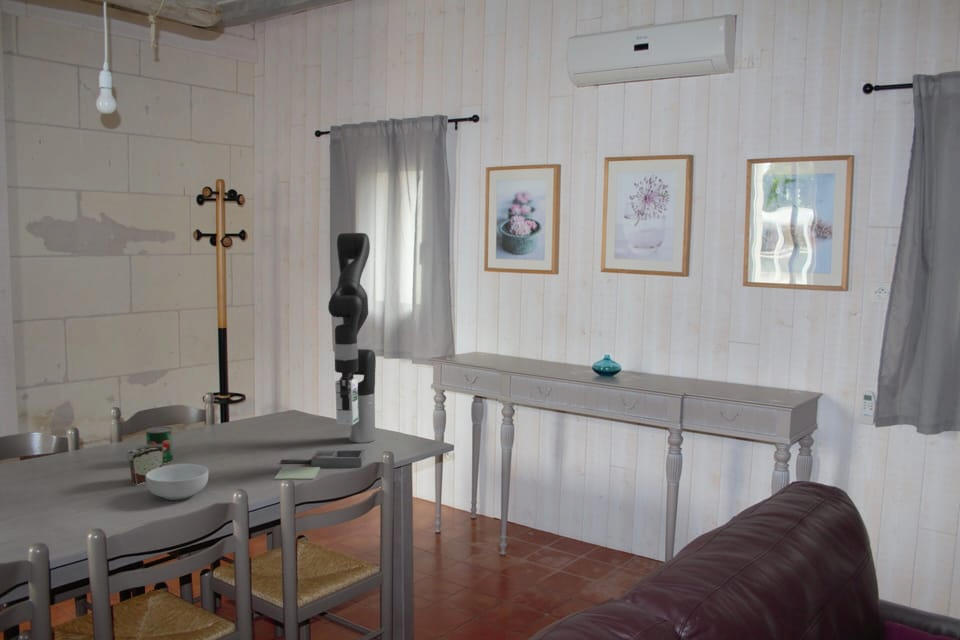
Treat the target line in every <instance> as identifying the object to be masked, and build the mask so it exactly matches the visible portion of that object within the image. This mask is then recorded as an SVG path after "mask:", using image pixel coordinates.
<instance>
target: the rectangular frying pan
mask: <svg viewBox="0 0 960 640" xmlns="http://www.w3.org/2000/svg"><path fill="white" fill-rule="evenodd" d="M365 460H366V449H316V451H315V452H314V453H313V455H312V457H311V458H310V459H309V458H308V459H304V458H303V459H300V458H299V459H297V458H296V459H294V458H293V459H291V458H289V459H285V458H284V459H281V460H280V461H279V462H280V464H311V467H320V468H360V467H359V466H362V467H363V464H364V462H365Z"/></svg>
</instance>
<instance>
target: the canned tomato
mask: <svg viewBox="0 0 960 640" xmlns="http://www.w3.org/2000/svg"><path fill="white" fill-rule="evenodd" d="M172 433H173V432H172V427H170V426H154V427H149V428H147V429H146V430H145V437H146V441H145V442H146V445H163V447H164V450H165V451H163V464H164V463H168V462H171V461H172V460H173V461H174V458H173V456H174V455H173V436H172V435H173V434H172ZM173 461H172V462H173ZM172 462H171V463H172ZM168 464H169V463H168ZM164 465H165V464H164Z"/></svg>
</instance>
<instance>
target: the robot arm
mask: <svg viewBox="0 0 960 640" xmlns="http://www.w3.org/2000/svg"><path fill="white" fill-rule="evenodd" d="M336 239H337V240H336V249H337V258H338V268H339V274H340V275H339V277H338V283H337V287H336V289H335V291H334V292H333V294H332V295H331V296H330V299H329V301H328V305H327V306H328V312H329V314H330V315H331V316H332V317H334V318H342V324H339V325H336V326H335V328H334V371H335V373H339V374H341V376H340V377H339V380H340V397H341V399H342V410H349V398H350V396H349V392H350V391H351V388H349V389H348V384H349V381H352V380H353V379H354V378H355V375H356V376H357V375H358V376H363V379H362V380H361V381H359V382H358V407H359V421H358V422H356V423H355V424H353V425H349V441H350V442H352V443H357V444H358V443H369V442H373V441H375V440H376V402H375V401H376V395H375V392H376V389H375V387H376V366H377V364H376V363H377V362H376V361H377V359H376V353H375V352H374V351H373V349H366V348H365V349H363V348H360V349H358V348H359V347H358V334H359V332H360V331H361V329H362V327H363V326H364V324H365V323H366V320H367V318H368V315H369V301H368V299H369V298H368V294H367V291H366V290H365V289H364V287H363V286H362V285H361V278H362V275H363V272H364V270H365V267H366V264H367V262H368V258H369V255H370V250H371V244H370V238H369V235H368V234H367V233H365V232H343V233H339V234H338V235H337V238H336ZM349 260H352V261H351V262H349ZM344 392H346V393H347V394H343V393H344Z"/></svg>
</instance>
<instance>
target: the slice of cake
mask: <svg viewBox="0 0 960 640" xmlns="http://www.w3.org/2000/svg"><path fill="white" fill-rule="evenodd" d="M163 451H165V450H164V447H163V445H147V444H144V445H138V446H135V447H132V448H129V449H128V450H127V453H126V458H125V459H126V460H128V463H129V469H130V470H129V471H130V475H131V476H130V477H131V483H134V484H136V485H137V484H140V483H143V482H146V477H145V476H146V474H147V473H148V472H149V471H151V470H153V469H156V468H159V467H163V465H162V464H163ZM136 485H135V486H136ZM137 486H138V485H137Z"/></svg>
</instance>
